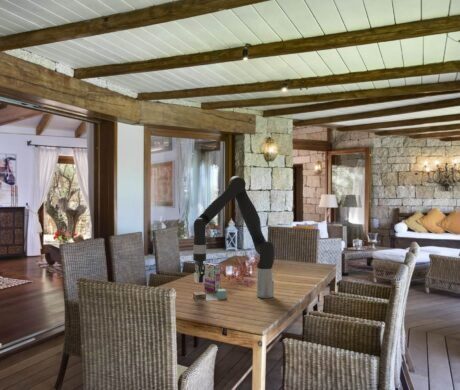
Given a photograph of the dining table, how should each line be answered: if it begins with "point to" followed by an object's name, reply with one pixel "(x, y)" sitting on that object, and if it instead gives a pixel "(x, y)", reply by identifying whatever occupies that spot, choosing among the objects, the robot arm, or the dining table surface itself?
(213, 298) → the board
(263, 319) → the dining table surface
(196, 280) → the cream cube
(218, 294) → the teal cube
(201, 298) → the walnut base
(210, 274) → the candy bar box
